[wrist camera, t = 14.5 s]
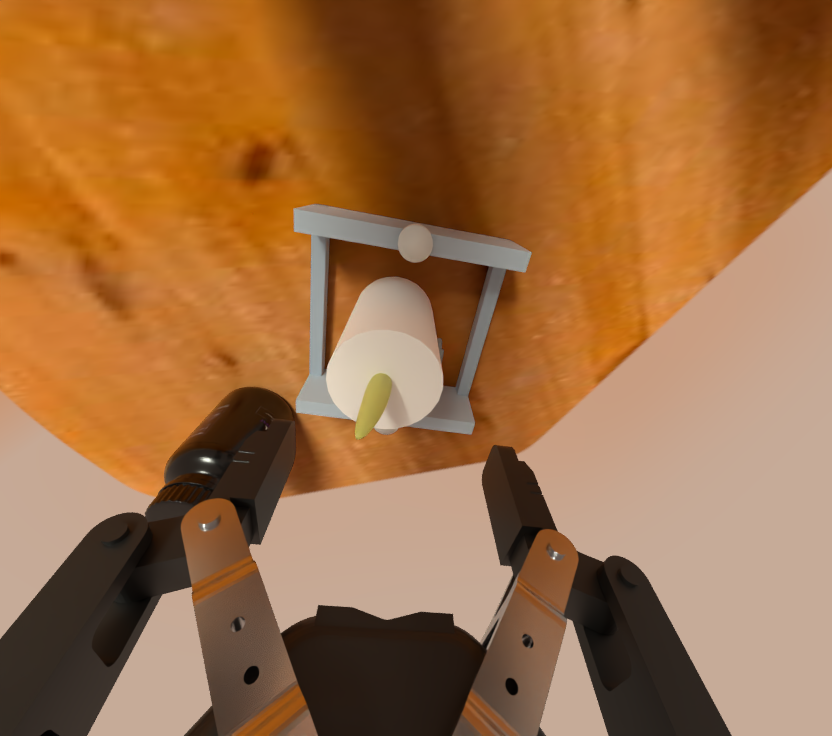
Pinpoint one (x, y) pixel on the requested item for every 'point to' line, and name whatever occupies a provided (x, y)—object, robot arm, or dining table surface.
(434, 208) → the dining table surface
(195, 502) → the supplement bottle
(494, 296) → the holder
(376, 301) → the candle
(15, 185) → the dining table surface
